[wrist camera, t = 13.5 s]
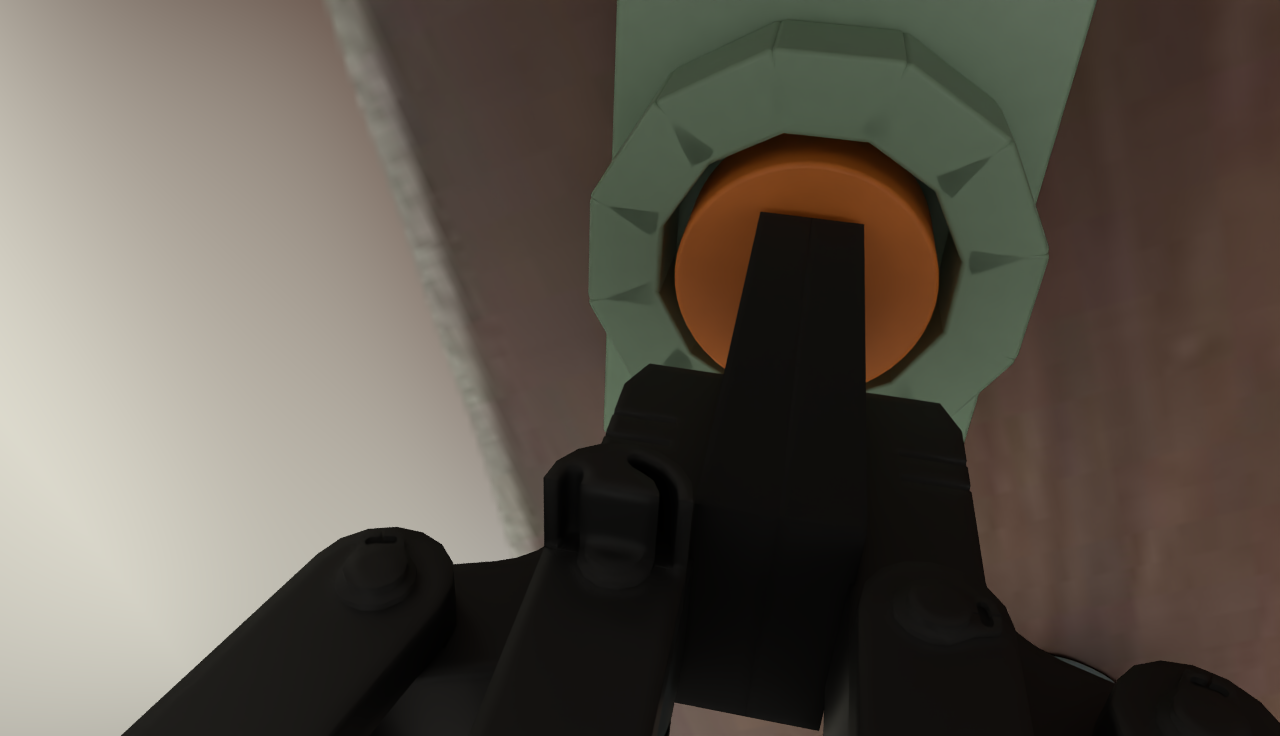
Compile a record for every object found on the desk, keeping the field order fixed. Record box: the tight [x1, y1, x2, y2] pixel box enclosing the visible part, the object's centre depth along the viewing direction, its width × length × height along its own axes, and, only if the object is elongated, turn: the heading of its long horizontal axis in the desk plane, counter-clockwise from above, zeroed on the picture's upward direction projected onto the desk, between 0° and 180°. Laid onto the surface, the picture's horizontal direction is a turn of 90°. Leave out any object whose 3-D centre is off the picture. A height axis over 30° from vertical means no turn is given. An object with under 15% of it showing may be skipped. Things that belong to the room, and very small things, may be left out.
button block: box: [588, 0, 1097, 442], centre depth 16 cm, size 10×7×4 cm
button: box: [675, 133, 939, 382], centre depth 15 cm, size 4×4×2 cm
